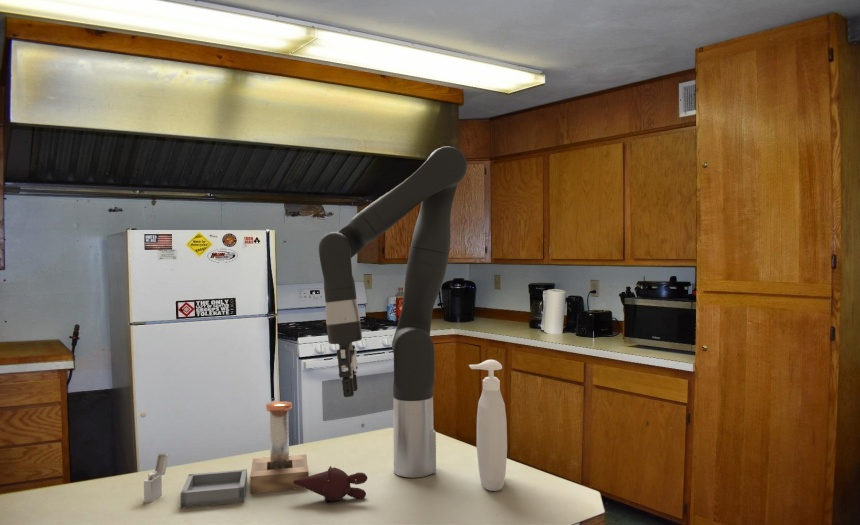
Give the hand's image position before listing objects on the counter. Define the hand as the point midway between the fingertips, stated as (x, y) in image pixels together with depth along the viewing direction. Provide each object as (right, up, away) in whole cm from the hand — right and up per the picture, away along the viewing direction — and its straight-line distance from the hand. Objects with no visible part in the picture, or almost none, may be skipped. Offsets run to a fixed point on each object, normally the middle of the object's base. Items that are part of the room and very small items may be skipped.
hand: (351, 393), depth 135 cm
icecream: (-3, -19, -12) cm, 23 cm away
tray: (-27, -19, -9) cm, 34 cm away
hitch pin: (-16, -19, -1) cm, 25 cm away
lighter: (-40, -20, -8) cm, 45 cm away
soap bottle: (+30, -19, -4) cm, 36 cm away
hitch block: (-16, -19, -1) cm, 25 cm away
